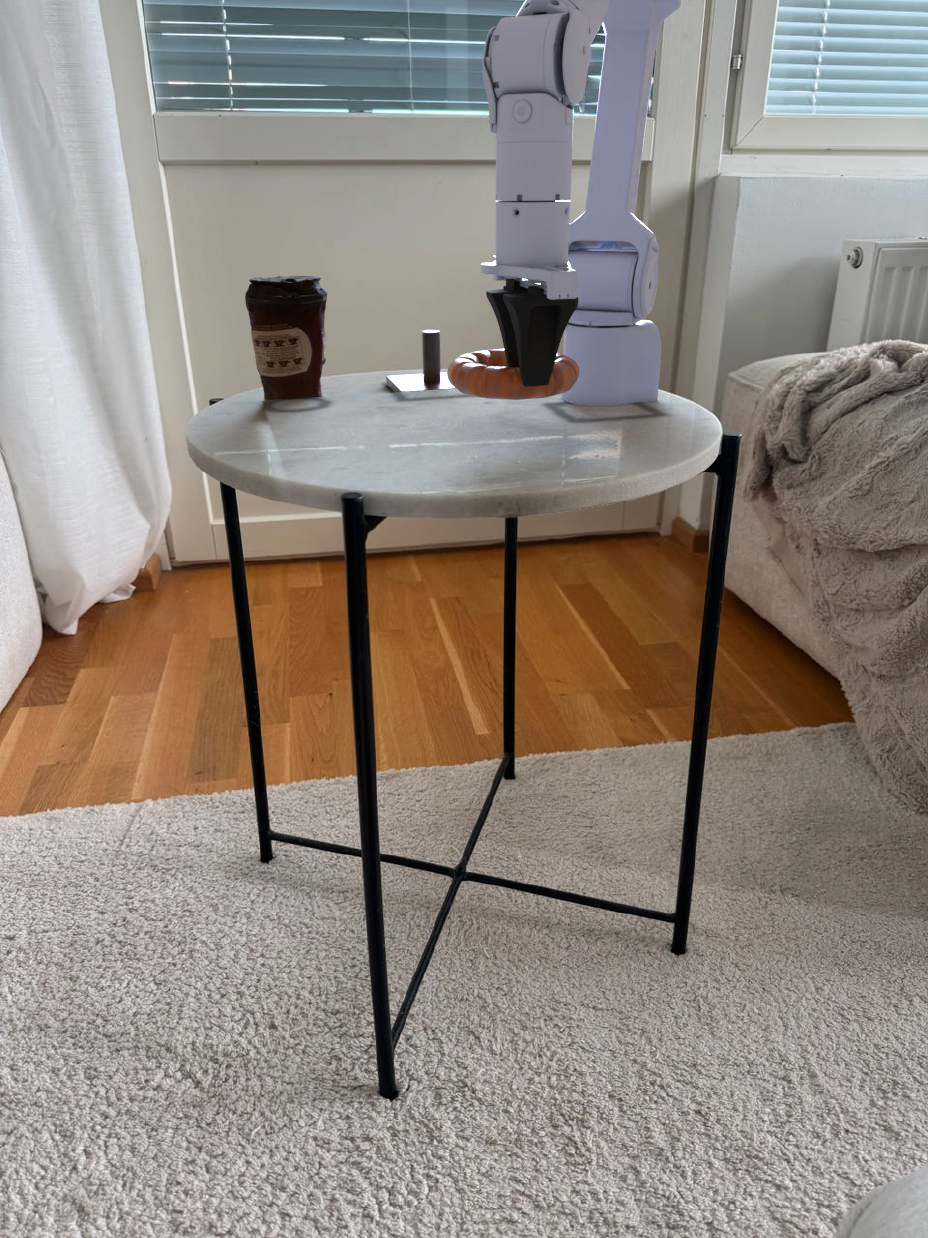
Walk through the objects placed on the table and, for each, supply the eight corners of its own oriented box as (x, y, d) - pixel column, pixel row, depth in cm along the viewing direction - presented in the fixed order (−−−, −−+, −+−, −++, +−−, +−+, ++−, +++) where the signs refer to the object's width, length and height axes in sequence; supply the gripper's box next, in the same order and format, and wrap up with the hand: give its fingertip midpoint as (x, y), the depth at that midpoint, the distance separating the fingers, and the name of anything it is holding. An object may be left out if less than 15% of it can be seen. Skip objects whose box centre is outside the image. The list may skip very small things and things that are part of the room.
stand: (459, 379, 110) (459, 323, 107) (480, 395, 102) (480, 335, 100) (386, 384, 108) (383, 327, 105) (402, 400, 100) (399, 339, 98)
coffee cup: (317, 415, 94) (307, 281, 89) (242, 412, 96) (227, 280, 90) (344, 397, 102) (336, 273, 96) (274, 394, 104) (262, 272, 98)
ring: (551, 372, 86) (552, 343, 85) (597, 397, 77) (599, 365, 75) (435, 379, 84) (435, 350, 83) (468, 406, 74) (468, 373, 73)
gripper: (457, 199, 75) (459, 367, 81) (512, 204, 63) (509, 403, 69) (538, 197, 77) (534, 362, 83) (607, 202, 64) (597, 396, 70)
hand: (528, 381), depth 76 cm, fingers closed on ring, 3 cm apart
